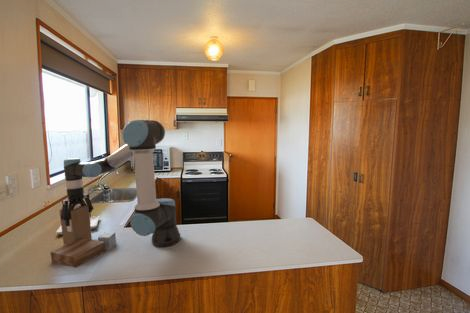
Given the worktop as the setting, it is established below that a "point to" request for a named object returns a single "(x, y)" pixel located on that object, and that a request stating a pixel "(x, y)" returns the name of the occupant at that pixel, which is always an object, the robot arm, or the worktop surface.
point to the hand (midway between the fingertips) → (79, 227)
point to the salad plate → (93, 224)
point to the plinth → (78, 252)
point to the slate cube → (108, 239)
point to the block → (77, 224)
